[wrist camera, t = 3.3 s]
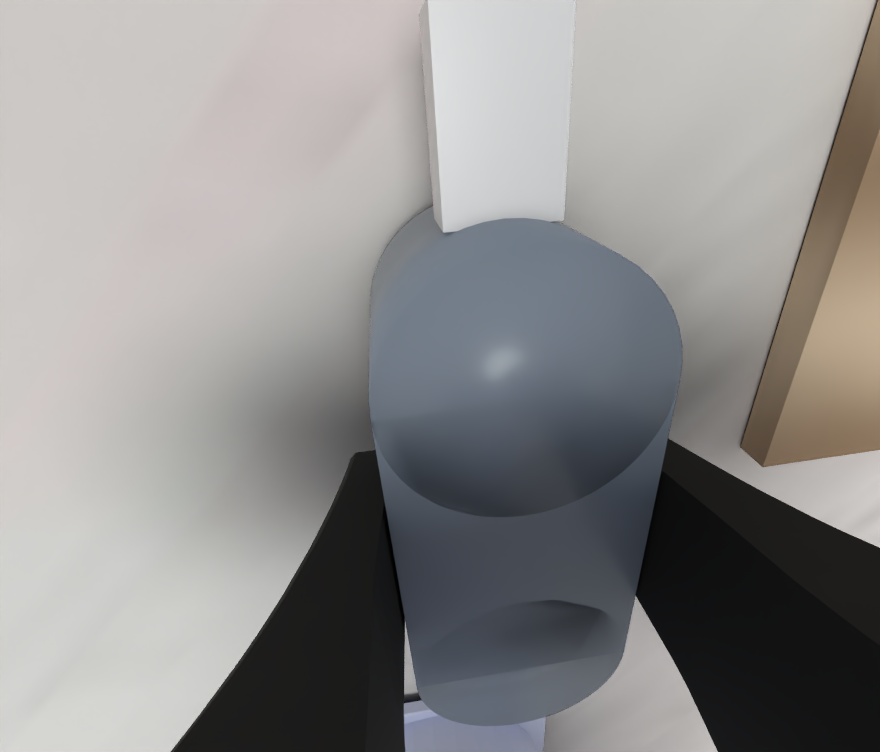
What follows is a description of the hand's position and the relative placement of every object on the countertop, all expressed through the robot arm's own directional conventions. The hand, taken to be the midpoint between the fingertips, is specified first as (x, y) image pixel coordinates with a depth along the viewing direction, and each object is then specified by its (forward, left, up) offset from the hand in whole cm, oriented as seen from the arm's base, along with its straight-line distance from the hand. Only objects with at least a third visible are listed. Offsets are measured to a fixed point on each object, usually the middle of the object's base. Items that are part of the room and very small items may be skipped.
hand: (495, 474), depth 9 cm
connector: (+1, 0, -1) cm, 2 cm away
